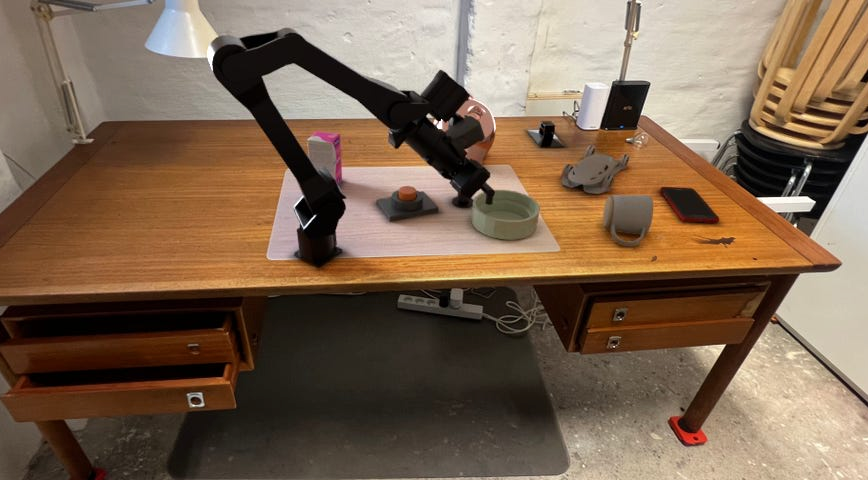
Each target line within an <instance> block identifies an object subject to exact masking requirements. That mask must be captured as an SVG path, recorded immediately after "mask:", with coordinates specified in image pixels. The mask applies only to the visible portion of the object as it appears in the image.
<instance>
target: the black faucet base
mask: <svg viewBox="0 0 868 480" xmlns="http://www.w3.org/2000/svg"><path fill="white" fill-rule="evenodd" d="M473 201H474V198H471V199H469V200H466V199H465V198H464V197H462V196H461V195H460V194H459V193H458V192H457V196H455V197H453V198H452V200H451V204H452V205H453V206H454V207H456V208H459V209H470V208H472V206H473Z"/></svg>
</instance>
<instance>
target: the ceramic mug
mask: <svg viewBox="0 0 868 480" xmlns="http://www.w3.org/2000/svg"><path fill="white" fill-rule="evenodd" d="M653 216H654V201H653V197H652V196H651V195H635V194H634V195H633V194H632V195H631V194H613V195H609V196H608V197H607V198H606V200H605V203H604V206H603V211H602V225H603V228H604V229H605V230H607V231H610V235H611V237H612V240H613V241H614V242H615V243H616V244H618V245H620V246H623V247H629V248H631V247H636V246H637V245H638V244H639V243H640V242H642V240H643V238H644V236H646V235H647V234H648V233H649V231H650V229H651V226H652V222H653V218H654V217H653ZM617 233H626V234H630V235H631V234H632V235H640V236H639V237H638V238H637V239H635V240H631V241H629V240H624V239H622V238H620V237H619V236H618V235H617Z"/></svg>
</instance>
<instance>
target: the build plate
mask: <svg viewBox="0 0 868 480" xmlns="http://www.w3.org/2000/svg"><path fill="white" fill-rule="evenodd" d="M555 128H556V124H555V123H554V122H553V121H552V120H541V121H540V124H539V128H538V129H527V130H526V132H527V134H528V135H529V136H530V137H531V138H532V140H533V141H534V142H535V144H536V145H537V146H538V148H540V149H552V148H553V149H554V148H555V149H556V148H565V147H566V146H565V144H564V143H563V142H562V141H561V140H560V139H559V138H558V136H557V135H556V134H555V131H556V129H555Z"/></svg>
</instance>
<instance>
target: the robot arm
mask: <svg viewBox="0 0 868 480" xmlns="http://www.w3.org/2000/svg"><path fill="white" fill-rule="evenodd" d="M206 56H207V61H208V63H209V65H210V68H211V70H212V73H213V75H214V77H215V79H216V80H217V81H218V82H219V83H220V84H221V85H222V87H223V88H224V89H225V90H226V91H227V92H228V93H229V94H230V95H231V96H232V97H233V98H234V99H235V100H237V102H238V103H240V104H241V105H242V106H243V107H244V108H245V109H247V110H248V112H249V113H250V114H251V116H252V117H253V118H254V120H255V121H256V123H257V124H258V125H259V128H261V130H262V131H263V133H264V134H265V136H266V138H267V139H268V141H269V142H270V143H271V145H272V146H273V147H274V149H275V151H276V152H277V154H278V156H279V157H280V158H281V159H282V161H283V162H284V164H285V165H286V166H287V168H288V169H289V171H290V173H292V175H293V177H294V178H295V179H296V182H297V185H298V187H299V190H300V192H301V194H302V196H301V197H300V198H299V200H297V202H296V203H295V204H294V205H293V207H292V210H293V211H294V214H295V216H296V218H297V220H298V223H299V225H298V228H296V236H297V242H298V250H296V251H294V253H293V257H295V258H297V259H300V260H301V261H304V262H306V263H308V264H310V265H312V266H314V267H316V268H321V267H324V265H326V264H327V263H329V262H330V261H332V260H334V259H335V258H336V257H338V256H339V255H341V254H342V253H343V249H342V248H340V247H338V245H337V244H338V242H337V228H338V225H339V221H340V220H341V219H342V218H343V216H344V215H345V211H346V210H347V205H346V202H345V201H344V200H346V199H347V196H346V194H345V193H344V192H343V190H342V188H341V187H340V185H338V184H337V182H336V181H335V179H334V177H333V176H332V174H331V173H330V171H329V170H328V168H327V167H326V166H324V167H323V168H322V169H321V170H319V169H318V168H316V167H315V166H314V165H313V164H312V162H311V161H310V159H309V156H308V155H307V153H306V151H305V150H304V148H303V147H302V145H301V144H300V142H299V141H298V139H297V138H296V136H295V134H294V133H293V131H292V130H291V128H290V126H289V125H288V124H287V122H286V120H285V119H284V117H283V116H282V114H281V113H280V111H279V109H278V108H277V106H276V104H275V103H274V102H273V99H272V98H271V96H270V94H269V91H268V89H267V88H268V87H267V86H266V83H265V81H264V78H263V77H265V76H268V75H271V74H272V73H274V72H276V71H278V70H280V69H282V68H284V67H286V66H289V65H293V64H294V65H296V66H298V67H300V68H301V69H303V70H304V71H306V72H308V73H310V74H311V75H313V76H315V77H316V78H318V79H320V80H321V81H322V82H324V83H326V84H328V85H330V86H332V87H334V88H335V89H337V90H338V91H339V92H342V93H344V94H345V95H347V96H349V97H350V98H352V99H353V100H355V101H357V102H358V103H359V104H360V105H361V106H363V107H364V109H366V110H367V111H368V112H370V114H371V115H373V116H374V117H375V118H376V119H377V120H379V122H381V123H382V124H383V125H384V126H385V127H386V128H388V129H387V130H388V131H387V132H388V137H387V138H388V139H387V142H388V143H389V145H391V146H392V147H393V148H394V149H395V150H398V149H399V148H400V147H401V146H402V145H403V144H404V143H405V144H406V145H407V146H408V147H409V148H410V149H412V150H413V152H415V153H416V154H417V155H418V156H419V157H420V158H421V159H422V160H423V161H424V162H425V163H426V164H427V165H429V166H430V167H432V168H433V169H434V170H435V171H436V172H437V173H438V174H439V175H440V176H441V177H442V178H443V179H445V180H449V182H448V184H449V185H450V186H451V187H452V189H454V190H455V191H456V192H457V194H458V193H459V194H460V195H461V196H462V197H464V198H465V199H466V200H469V199H471V198H472V197H474V196H475V195H476V193H477V192H479V191H480V190H481V187H482V185H483V184H484V183H485V182H487V181H488V180H489V179H490V178H491V176H492V175H491V172H490V171H489V169H487V168H486V167H485V166H484V165H483V164H480V163H479V162H477V161H476V160H473V159H470V160H469V159H467V158H466V155H467V154H468V153H467V152H466V151H465V150H464V149H468V148H469V147H471V146H473V145H474V144H476V143H477V142H479V141H480V142H481V141H482V140H483V139H484V138H485V135H484V132H483V129H482V126H481V124H480V122H479V121H478V120H476V119H475V118H474V117H472V116H467V115H464V117H465V118H463V117H462V116H460V115H459V114H458V113H456V112H457V111H458V110H459V109H460V108H461V106H462V105H463V104H464V103H465V102H466V101H467V99H470V95H471V94H470V93H469V92H468V90H467V89H466V88H465V87H464V86H463V85H461V84H459V83H458V82H457V81H456V80H455V79H454V78H452V77H451V76H450V75H449V73H447V72H446V71H445V70H443V69H439V70H438V71H437V72H436V74H435V75H434V76H433V79H432V80H431V81H430V82H429V84H427V86H426V87H425V89H424V90H423V91H422V92H421V93H420V94H419V93H418V92H417V91H415V90H407V89H405V90H404V89H399V88H397V87H396V86H395V85H392V84H390V83H388V82H385V81H382V80H379V79H378V78H374V77H370V76H368V75H364V74H362V73H361V72H359V71H357V70H356V69H354V68H353V67H351V66H350V65H348V64H346V63H345V62H343V61H341V60H340V59H338V58H337V57H335V56H333V55H332V54H330V53H329V52H327V51H326V50H324V49H322V48H321V47H319V46H318V45H317V44H315V43H313V42H312V41H310V40H308V39H307V38H305V37H304V36H303V35H301V33H299V32H298V31H297V30H296V29H294V28H291V27H283V28H279V29H277V30H274V31H269V32H263V33H253V34H248V35H244V36H240V37H237V36H234V35H230V34H222V35H219V36H216V37H215V38H214V39H213V40H211V42H210V43H209V45H208V48H207V55H206ZM469 94H470V95H469ZM428 115H430V117H432V118H433V119H434V120H436V121H438V122H439V123H440V122H441V120H443V121H444V122H445V123H446V122H448V121H449V126H448V130H446V131H445V132H444V131H443V130H442V129H441V128H438V127H437V126H436V125H435V124H434V121H432V120H431V119H430V118H429V117H428ZM472 199H473V198H472Z"/></svg>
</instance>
